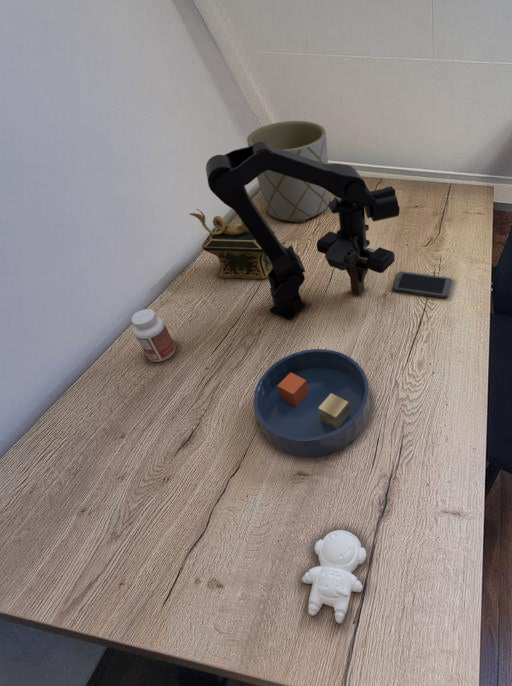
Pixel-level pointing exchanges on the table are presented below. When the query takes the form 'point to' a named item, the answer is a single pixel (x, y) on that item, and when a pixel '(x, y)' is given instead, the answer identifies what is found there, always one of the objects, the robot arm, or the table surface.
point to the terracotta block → (293, 389)
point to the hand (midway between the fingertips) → (357, 279)
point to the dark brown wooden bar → (356, 280)
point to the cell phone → (422, 284)
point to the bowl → (312, 403)
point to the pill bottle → (153, 335)
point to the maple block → (334, 411)
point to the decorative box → (235, 250)
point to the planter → (286, 192)
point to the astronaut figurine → (335, 572)
